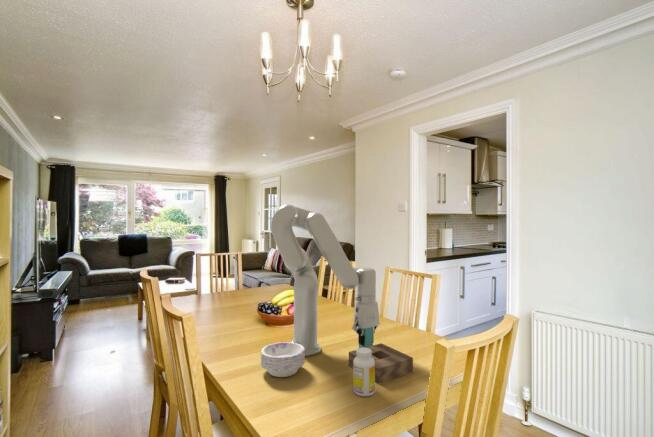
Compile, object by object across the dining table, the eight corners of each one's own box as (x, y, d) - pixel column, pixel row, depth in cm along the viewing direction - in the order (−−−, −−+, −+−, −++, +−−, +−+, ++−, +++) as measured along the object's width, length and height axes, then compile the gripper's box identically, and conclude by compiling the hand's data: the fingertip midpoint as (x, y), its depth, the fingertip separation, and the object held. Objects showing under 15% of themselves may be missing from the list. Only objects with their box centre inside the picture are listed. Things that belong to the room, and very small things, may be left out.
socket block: (378, 384, 107) (378, 368, 107) (348, 365, 120) (348, 352, 120) (412, 372, 116) (412, 357, 116) (381, 356, 129) (381, 343, 129)
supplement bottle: (372, 386, 106) (373, 346, 106) (376, 397, 99) (376, 354, 99) (351, 386, 105) (352, 346, 105) (354, 397, 99) (354, 354, 99)
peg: (365, 352, 132) (365, 327, 132) (358, 349, 136) (359, 324, 136) (372, 350, 135) (373, 325, 135) (366, 347, 138) (366, 323, 138)
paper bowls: (283, 358, 126) (283, 337, 126) (313, 370, 117) (313, 347, 117) (251, 372, 115) (251, 349, 115) (281, 386, 105) (281, 361, 105)
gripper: (356, 303, 128) (355, 350, 127) (387, 298, 137) (387, 342, 137) (344, 299, 134) (344, 344, 134) (375, 294, 143) (375, 336, 143)
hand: (366, 343), depth 135 cm, fingers closed on peg, 4 cm apart
